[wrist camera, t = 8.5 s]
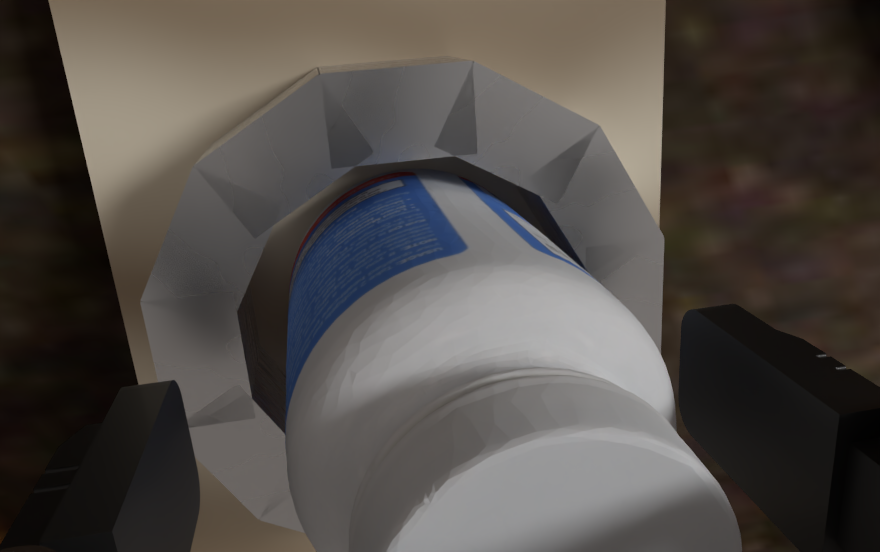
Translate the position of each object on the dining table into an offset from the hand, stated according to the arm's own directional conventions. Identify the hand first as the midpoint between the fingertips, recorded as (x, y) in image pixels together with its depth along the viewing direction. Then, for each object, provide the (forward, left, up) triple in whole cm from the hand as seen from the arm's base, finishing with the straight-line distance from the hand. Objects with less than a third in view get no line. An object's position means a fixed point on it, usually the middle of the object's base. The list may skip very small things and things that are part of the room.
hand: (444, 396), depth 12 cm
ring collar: (0, 0, -5) cm, 5 cm away
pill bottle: (0, 0, -5) cm, 5 cm away
